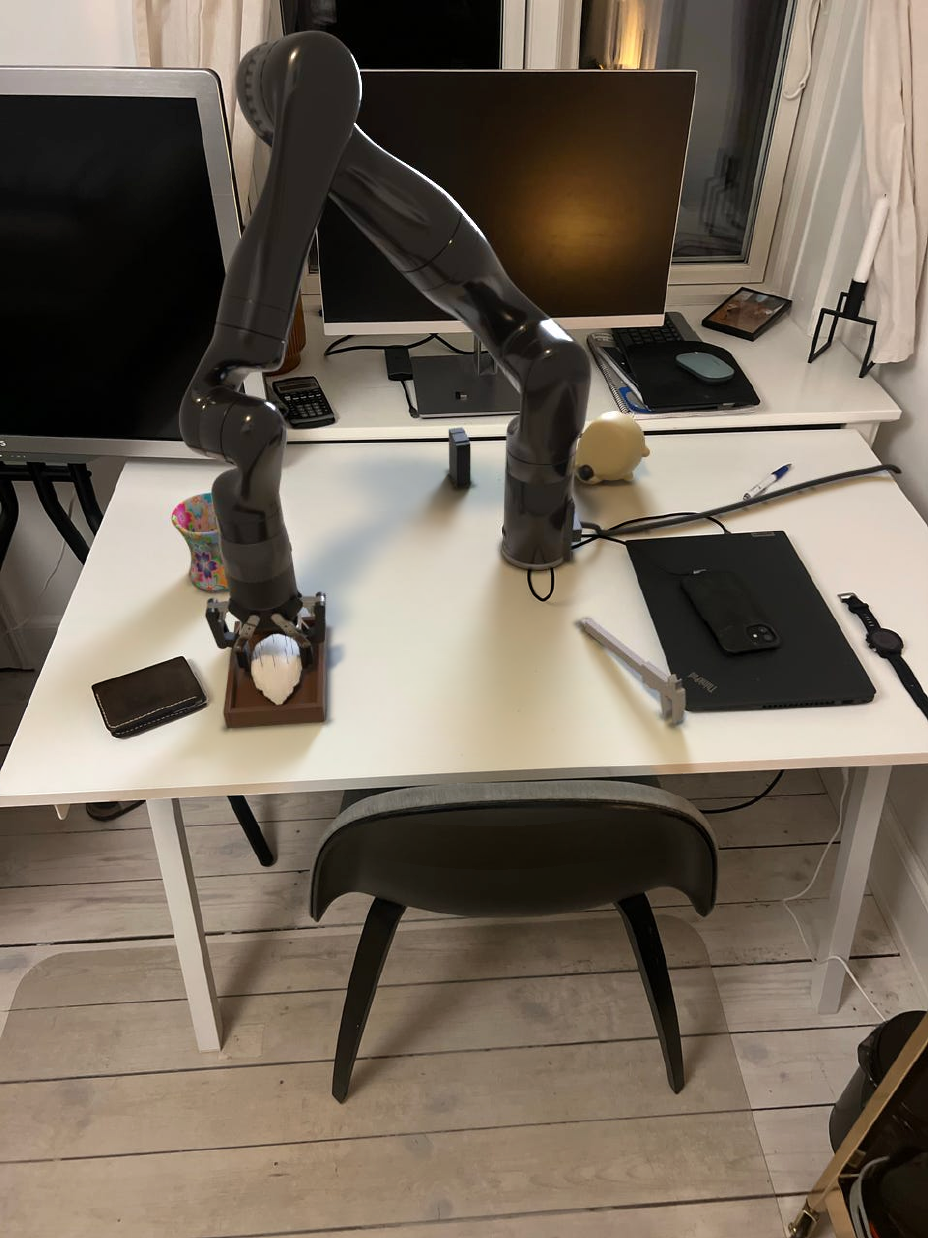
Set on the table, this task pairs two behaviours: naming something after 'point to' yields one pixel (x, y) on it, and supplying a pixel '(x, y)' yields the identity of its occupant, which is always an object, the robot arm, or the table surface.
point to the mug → (201, 541)
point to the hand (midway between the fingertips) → (277, 665)
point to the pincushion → (276, 666)
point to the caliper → (644, 671)
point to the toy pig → (610, 449)
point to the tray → (257, 710)
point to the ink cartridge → (459, 457)
